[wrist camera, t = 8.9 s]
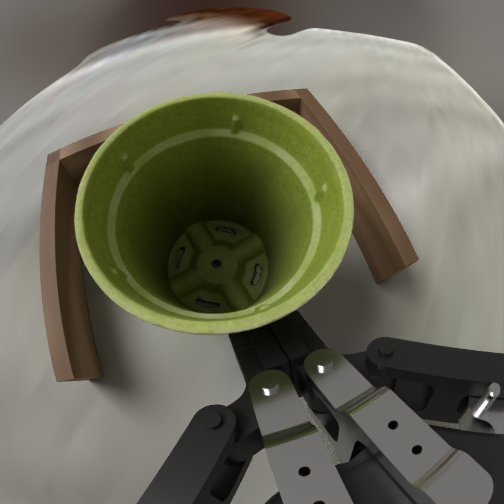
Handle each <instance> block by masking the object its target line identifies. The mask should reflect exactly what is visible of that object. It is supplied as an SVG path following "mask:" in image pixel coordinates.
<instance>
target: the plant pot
mask: <svg viewBox="0 0 504 504" xmlns="http://www.w3.org/2000/svg"><path fill="white" fill-rule="evenodd" d="M353 221H354V201H353V193H352V188H351V184H350V179H349V177H348V174H347V172H346V169H345V168H344V165H343V164H342V161H341V159H340V157H339V156H338V154H337V153H336V151H335V149H334V148H333V146H332V145H331V144H330V143H329V141H328V140H327V139H326V138H325V137H324V136H323V135H322V134H321V132H320V131H319V130H318V129H317V128H316V127H314V126H313V125H312V124H310V123H309V122H308V121H307V120H305V119H304V118H302V117H301V116H299V115H298V114H296V113H294V112H293V111H291V110H289V109H287V108H285V107H283V106H281V105H278V104H276V103H273V102H270V101H268V100H265V99H262V98H259V97H255V96H251V95H245V94H238V93H230V92H210V93H198V94H193V95H187V96H182V97H178V98H175V99H172V100H168V101H165V102H162V103H160V104H157V105H155V106H152V107H150V108H148V109H146V110H144V111H143V112H141V113H139V114H138V115H136V116H134V117H133V118H131V119H130V120H128V121H127V122H126V123H124V124H123V125H122V126H120V127H119V128H118V129H117V130H116V131H115V132H114V133H113V134H112V135H110V136H109V137H108V139H107V140H106V141H105V142H104V143H103V144H102V145H101V146H100V148H99V149H98V150H97V151H96V153H95V154H94V156H93V158H92V159H91V161H90V163H89V165H88V167H87V169H86V171H85V173H84V175H83V178H82V180H81V183H80V186H79V189H78V194H77V200H76V206H75V217H74V222H75V232H76V239H77V244H78V247H79V251H80V253H81V256H82V259H83V261H84V263H85V265H86V267H87V269H88V271H89V273H90V274H91V276H92V277H93V279H94V280H95V282H96V283H97V284H98V286H99V287H100V288H101V289H102V290H103V291H104V293H105V294H106V295H107V296H108V297H109V298H110V299H111V300H113V301H114V302H115V303H116V304H118V305H119V306H120V307H121V308H123V309H124V310H126V311H128V312H129V313H130V314H132V315H134V316H136V317H138V318H140V319H142V320H144V321H146V322H148V323H151V324H153V325H156V326H159V327H162V328H165V329H169V330H173V331H178V332H183V333H189V334H201V335H218V334H231V333H237V332H242V331H247V330H251V329H254V328H258V327H261V326H264V325H266V324H269V323H272V322H274V321H276V320H279V319H281V318H283V317H284V316H286V315H288V314H290V313H292V312H293V311H295V310H297V309H298V308H300V307H301V306H302V305H304V304H305V303H307V302H308V301H309V300H311V299H312V298H313V297H314V296H315V295H316V294H317V293H318V292H319V291H320V290H321V289H322V288H323V287H324V286H325V285H326V284H327V283H328V282H329V280H330V279H331V278H332V277H333V275H334V274H335V272H336V270H337V269H338V267H339V266H340V264H341V262H342V260H343V258H344V256H345V254H346V251H347V249H348V246H349V242H350V239H351V235H352V230H353ZM217 227H226V228H230V229H233V230H235V232H236V235H232V234H230V233H227V232H223V231H215V229H216V228H217ZM182 247H185V252H184V253H183V256H182V258H181V261H180V264H179V267H178V268H177V267H176V255H177V253H178V251H179V249H181V248H182ZM215 260H219V261H220V262H221V266H220V267H219V268H216V267H213V265H212V263H213V261H215ZM255 264H259V265H260V268H261V272H260V275H259V280H258V282H257V284H256V285H254V286H252V285H251V281H252V278H253V275H254V270H255V268H254V267H255ZM198 298H199V299H201V300H204V301H207V302H212V303H218V304H219V305H220V306H219V307H218V308H213V307H209V306H208V307H203V306H201V305H199V304H197V303H196V299H198ZM248 307H249V308H248ZM245 308H247V309H245ZM242 309H244V310H242ZM239 310H240V311H239Z"/></svg>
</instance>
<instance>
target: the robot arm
mask: <svg viewBox="0 0 504 504" xmlns="http://www.w3.org/2000/svg"><path fill="white" fill-rule="evenodd" d="M248 308H249V307H248ZM245 309H247V308H245ZM242 310H244V309H242ZM239 311H240V310H239ZM229 338H230V341H231V344H232V347H233V350H234V353H235V356H236V359H237V361H238V364H239V366H240V369H241V372H242V374H243V377H244V379H245V382H246V388H245V391H244V393H243V394H242V396H241V397H240V398H239V399H238V400H236V401H235V402H233V403H232V404H230V405H229V406H227V407H226V406H223V405H209V406H206V407H204V408H202V409H200V410H199V411H198V412H197V413H196V414H195V415H194V417H193V419H192V420H191V422H190V423H189V425H188V427H187V428H186V430H185V431H184V433H183V434H182V436H181V438H180V439H179V441H178V442H177V444H176V445H175V447H174V449H173V450H172V452H171V453H170V455H169V456H168V458H167V459H166V461H165V462H164V464H163V465H162V467H161V469H160V470H159V472H158V473H157V475H156V476H155V478H154V479H153V481H152V482H151V483H150V485H149V486H148V488H147V489H146V491H145V492H144V494H143V495H142V497H141V498H140V500H139V501H138V502H137V504H230V503H231V501H232V499H233V497H234V495H235V493H236V491H237V489H238V487H239V485H240V483H241V481H242V479H243V477H244V475H245V473H246V471H247V468H248V466H249V464H250V462H251V460H252V457H253V455H255V454H256V453H258V452H259V451H260V450H262V449H263V448H265V450H266V453H267V456H268V459H269V462H270V465H271V468H272V471H273V474H274V477H275V480H276V483H277V486H278V489H279V492H277V493H276V494H275V495H273V496H272V497H271V498H270V499H269V500H268V501H267V502H266V503H265V504H504V354H503V353H493V352H483V351H475V350H467V349H459V348H452V347H445V346H438V345H432V344H425V343H419V342H413V341H407V340H401V339H396V338H390V337H382V338H378V339H375V340H374V341H372V342H371V343H370V344H369V345H368V347H367V351H365V352H360V353H355V354H350V355H342V354H340V353H339V352H338V351H336V350H333V349H328V348H327V347H326V346H325V344H324V343H323V342H322V341H321V339H320V338H319V337H318V336H317V334H316V333H315V332H314V331H313V329H312V328H311V327H310V326H309V325H308V323H307V322H306V321H305V320H304V318H303V317H302V316H301V314H300V313H299V312H298V311H297V310H295V311H293V312H292V313H290V314H288V315H286V316H284V317H283V318H281V319H279V320H276V321H274V322H272V323H269V324H266V325H264V326H261V327H258V328H254V329H251V330H247V331H242V332H237V333H231V334H229ZM302 396H303V397H304V399H305V400H306V402H307V409H308V411H309V413H310V415H311V416H312V417H313V419H314V420H315V421H316V423H317V424H318V426H319V427H320V428H321V430H322V431H323V432H324V434H325V435H326V437H327V438H328V439H329V441H330V442H331V443H332V445H333V446H334V448H335V451H336V454H337V456H338V458H339V460H340V461H341V463H342V464H338V465H334V463H333V461H332V459H331V457H330V455H329V453H328V451H327V448H326V446H325V444H324V442H323V440H322V438H321V436H320V434H319V432H318V430H317V428H316V427H315V426H314V425H312V424H311V423H310V421H309V419H308V416H307V414H306V412H305V410H304V408H303V406H302V403H301V401H300V399H299V397H302ZM421 418H422V419H428V420H435V421H442V422H449V423H458V424H459V426H460V427H459V430H458V429H451V428H445V427H439V426H433V425H427V424H426V423H425V422H424V421H423V420H422V419H421Z"/></svg>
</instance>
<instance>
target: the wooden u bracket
mask: <svg viewBox="0 0 504 504" xmlns="http://www.w3.org/2000/svg"><path fill="white" fill-rule="evenodd" d="M247 95H251V96H255V97H259V98H262V99H265V100H268V101H270V102H273V103H276V104H278V105H281V106H283V107H285V108H287V109H289V110H291V111H293V112H294V113H296V114H298V115H299V116H301V117H302V118H304V119H305V120H307V121H308V122H309V123H310V124H312V125H313V126H314V127H316V128H317V129H318V130H319V131H320V132H321V134H322V135H323V136H324V137H325V138H326V139H327V140H328V141H329V143H330V144H331V145H332V146H333V148H334V149H335V151H336V153H337V154H338V156H339V157H340V159H341V161H342V164H343V165H344V168H345V169H346V172H347V174H348V177H349V179H350V184H351V188H352V193H353V201H354V221H353V230H352V233H353V235H354V237H355V239H356V241H357V243H358V245H359V247H360V249H361V251H362V253H363V255H364V257H365V259H366V261H367V264H368V266H369V268H370V270H371V272H372V274H373V277H374V279H375V281H376V283H377V284H378V283H380V282H382V281H384V280H386V279H388V278H390V277H392V276H394V275H395V274H397V273H398V272H400V271H402V270H403V269H405V268H406V267H408V266H410V265H411V264H413V263H414V262H416V261H417V260H419V259H418V257H417V255H416V252H415V250H414V248H413V246H412V244H411V242H410V240H409V238H408V236H407V235H406V233H405V231H404V229H403V227H402V225H401V223H400V221H399V220H398V218H397V216H396V214H395V212H394V211H393V209H392V207H391V205H390V204H389V202H388V200H387V199H386V197H385V195H384V194H383V192H382V190H381V189H380V187H379V185H378V184H377V182H376V181H375V179H374V177H373V176H372V174H371V173H370V171H369V170H368V168H367V167H366V165H365V164H364V162H363V161H362V159H361V158H360V156H359V155H358V153H357V152H356V151H355V149H354V148H353V146H352V145H351V144H350V142H349V141H348V139H347V138H346V137H345V135H344V134H343V133H342V131H341V130H340V129H339V127H338V126H337V125H336V123H335V122H334V121H333V120H332V118H331V117H330V116H329V114H328V113H327V112H326V111H325V109H324V108H323V107H322V106H321V105H320V103H319V102H318V101H317V100H316V99H315V97H314V96H313V95H312V94H311V93H310V92H309V90H308V89H294V90H281V91H271V92H262V93H254V94H247ZM122 125H123V124H121V125H118V126H115V127H112V128H110V129H107V130H104V131H102V132H99V133H96V134H94V135H91V136H89V137H86V138H84V139H82V140H79V141H77V142H74V143H72V144H70V145H68V146H65V147H63V148H61V149H59V150H57V151H55V152H53V153H51V154H49V155H48V157H47V163H46V170H45V177H44V185H43V193H42V204H41V219H40V278H41V292H42V303H43V312H44V320H45V327H46V333H47V339H48V345H49V350H50V355H51V360H52V364H53V368H54V373H55V377H56V381H57V382H62V381H82V380H91V379H96V378H101V377H103V373H102V370H101V366H100V363H99V359H98V355H97V351H96V347H95V343H94V338H93V334H92V329H91V324H90V319H89V314H88V308H87V302H86V296H85V289H84V282H83V274H82V265H81V254H80V251H79V247H78V244H77V239H76V232H75V222H74V217H75V206H76V200H77V194H78V187H79V186H80V183H81V180H82V178H83V175H84V173H85V171H86V169H87V167H88V165H89V163H90V161H91V159H92V158H93V156H94V154H95V153H96V151H97V150H98V149H99V148H100V146H101V145H102V144H103V143H104V142H105V141H106V140H107V139H108V137H109V136H110V135H112V134H113V133H114V132H115V131H116V130H117V129H118V128H119V127H120V126H122Z"/></svg>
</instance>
